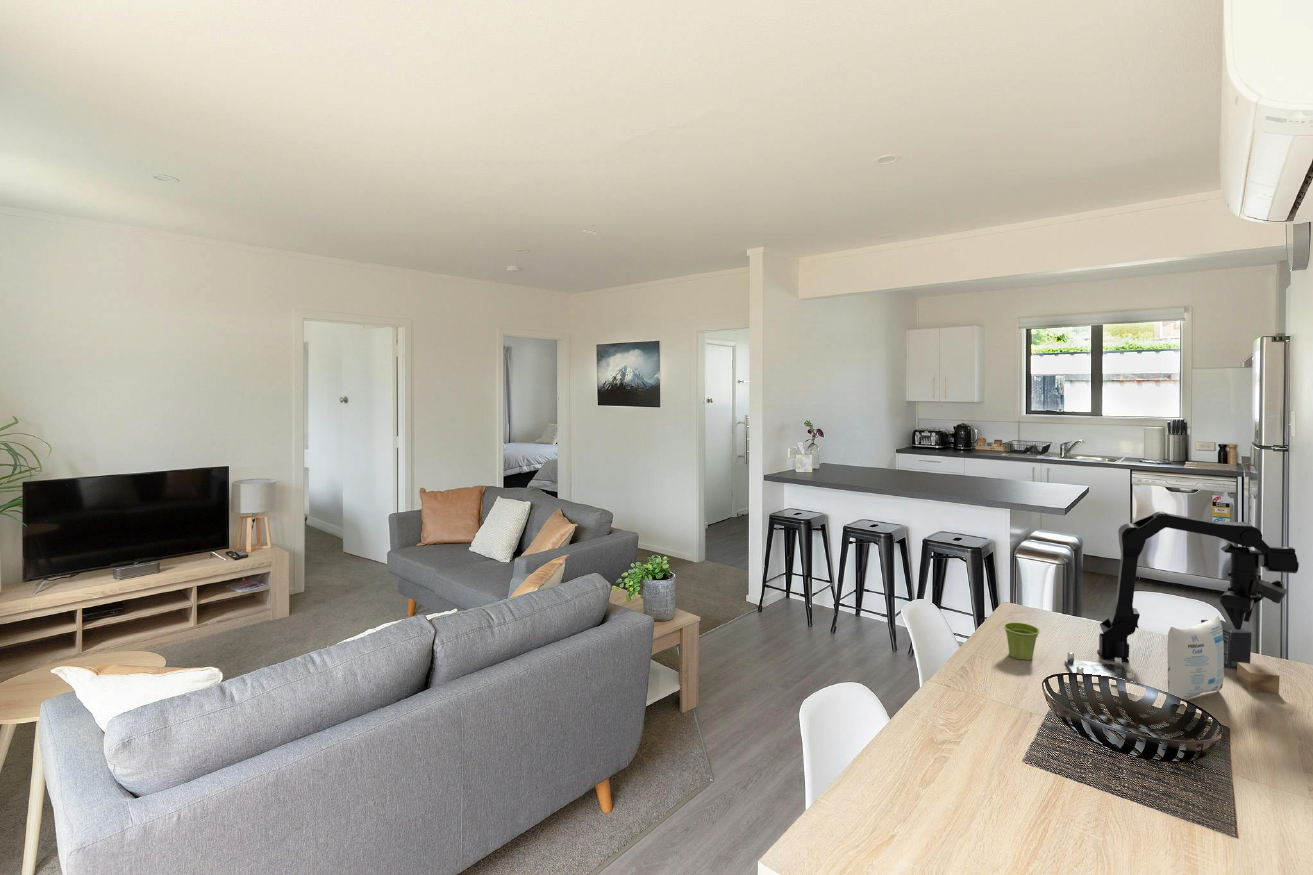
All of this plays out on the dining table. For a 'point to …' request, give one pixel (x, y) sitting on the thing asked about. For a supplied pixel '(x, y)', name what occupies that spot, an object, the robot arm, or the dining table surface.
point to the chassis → (1098, 668)
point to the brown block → (1258, 678)
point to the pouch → (1195, 659)
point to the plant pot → (1021, 639)
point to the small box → (1235, 645)
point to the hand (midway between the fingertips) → (1242, 625)
